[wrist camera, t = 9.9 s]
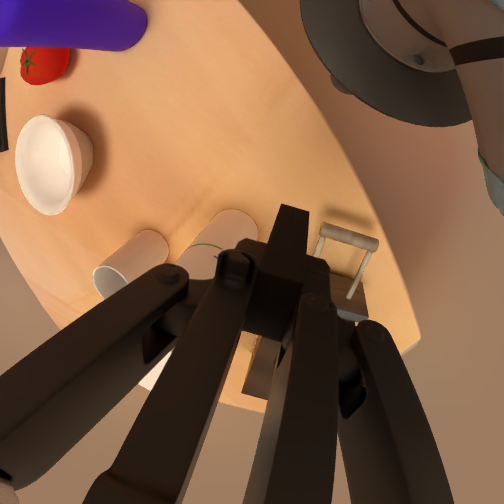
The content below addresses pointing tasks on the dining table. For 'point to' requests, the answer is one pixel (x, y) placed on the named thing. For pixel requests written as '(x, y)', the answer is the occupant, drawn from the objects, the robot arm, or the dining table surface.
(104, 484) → the robot arm
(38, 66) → the tomato
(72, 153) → the bowl
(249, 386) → the cabinet
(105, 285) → the mug
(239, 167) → the dining table surface
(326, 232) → the drawer
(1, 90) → the lantern
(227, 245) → the cylindrical container
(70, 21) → the bottle
